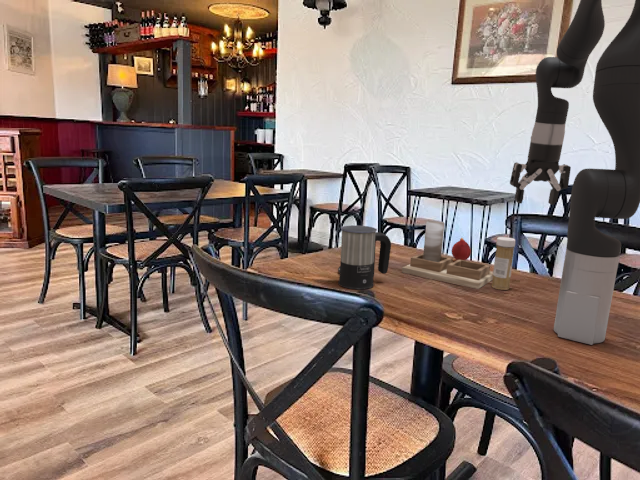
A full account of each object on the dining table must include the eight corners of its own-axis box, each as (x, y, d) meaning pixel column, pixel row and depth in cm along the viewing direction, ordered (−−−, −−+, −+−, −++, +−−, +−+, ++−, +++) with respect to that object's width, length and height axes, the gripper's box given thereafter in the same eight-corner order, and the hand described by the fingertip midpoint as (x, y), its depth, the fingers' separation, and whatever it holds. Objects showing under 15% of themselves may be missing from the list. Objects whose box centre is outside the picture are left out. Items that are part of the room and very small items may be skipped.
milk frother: (355, 292, 119) (359, 233, 116) (313, 277, 130) (316, 222, 127) (393, 283, 128) (397, 228, 125) (351, 269, 140) (354, 218, 137)
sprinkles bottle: (512, 289, 128) (519, 239, 125) (501, 291, 125) (508, 240, 123) (498, 284, 132) (504, 235, 129) (487, 286, 129) (493, 237, 126)
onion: (471, 262, 155) (474, 238, 153) (466, 266, 150) (469, 240, 148) (453, 259, 158) (456, 235, 156) (448, 262, 153) (450, 237, 151)
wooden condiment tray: (478, 289, 126) (484, 234, 124) (401, 272, 139) (406, 222, 136) (495, 277, 138) (501, 227, 135) (423, 263, 151) (428, 217, 148)
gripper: (524, 142, 120) (513, 206, 125) (582, 144, 120) (568, 208, 125) (513, 138, 127) (503, 199, 132) (567, 140, 127) (555, 200, 132)
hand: (535, 203), depth 128 cm, fingers open, 8 cm apart
